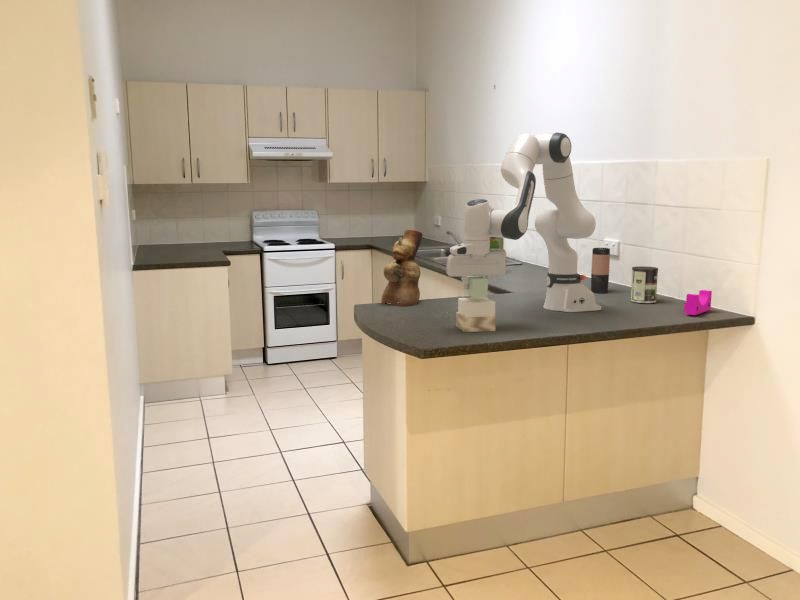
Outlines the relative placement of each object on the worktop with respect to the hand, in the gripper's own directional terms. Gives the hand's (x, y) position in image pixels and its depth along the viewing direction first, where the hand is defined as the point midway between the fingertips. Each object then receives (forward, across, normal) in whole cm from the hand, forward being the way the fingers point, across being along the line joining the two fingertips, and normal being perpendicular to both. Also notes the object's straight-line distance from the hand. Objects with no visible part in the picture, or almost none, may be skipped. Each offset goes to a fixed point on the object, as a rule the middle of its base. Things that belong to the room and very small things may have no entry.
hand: (475, 288), depth 238 cm
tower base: (+14, 0, 0) cm, 14 cm away
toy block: (+14, -92, -17) cm, 95 cm away
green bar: (+2, 0, 0) cm, 2 cm away
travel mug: (+14, -74, -64) cm, 99 cm away
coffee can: (+14, -83, -41) cm, 93 cm away
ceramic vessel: (+14, +16, -53) cm, 57 cm away
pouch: (+14, -46, -135) cm, 143 cm away
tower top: (+9, 0, 0) cm, 9 cm away
